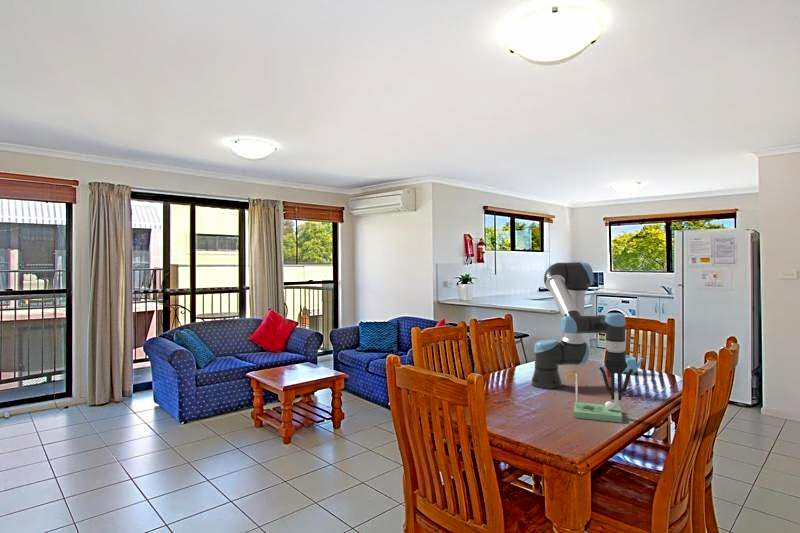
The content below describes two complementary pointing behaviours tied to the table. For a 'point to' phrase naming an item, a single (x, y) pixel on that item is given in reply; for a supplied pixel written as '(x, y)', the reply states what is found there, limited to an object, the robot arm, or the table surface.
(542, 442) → the table surface
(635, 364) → the teapot
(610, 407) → the ball
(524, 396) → the table surface
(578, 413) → the green
